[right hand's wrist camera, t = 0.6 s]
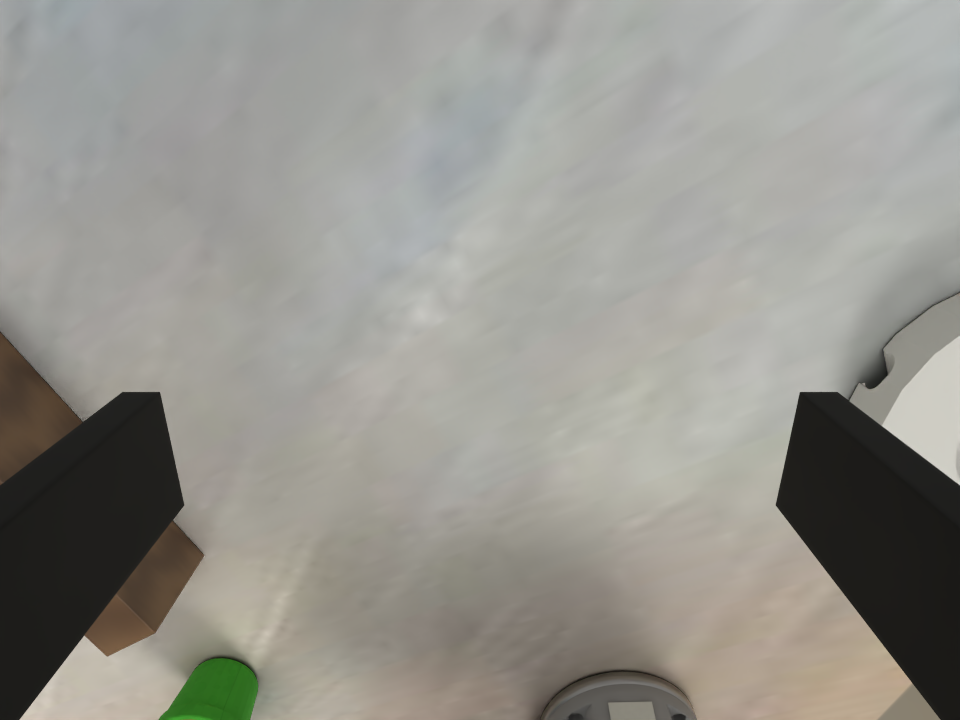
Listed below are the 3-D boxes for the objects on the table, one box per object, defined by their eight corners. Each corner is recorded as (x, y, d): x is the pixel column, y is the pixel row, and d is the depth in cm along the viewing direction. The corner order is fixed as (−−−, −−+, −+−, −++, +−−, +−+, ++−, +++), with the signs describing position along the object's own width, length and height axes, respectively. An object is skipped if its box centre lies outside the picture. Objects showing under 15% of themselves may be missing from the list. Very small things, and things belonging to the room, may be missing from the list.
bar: (204, 555, 52) (155, 633, 44) (162, 576, 52) (106, 657, 45) (-47, 280, 43) (-165, 316, 35) (-93, 311, 43) (-219, 353, 36)
